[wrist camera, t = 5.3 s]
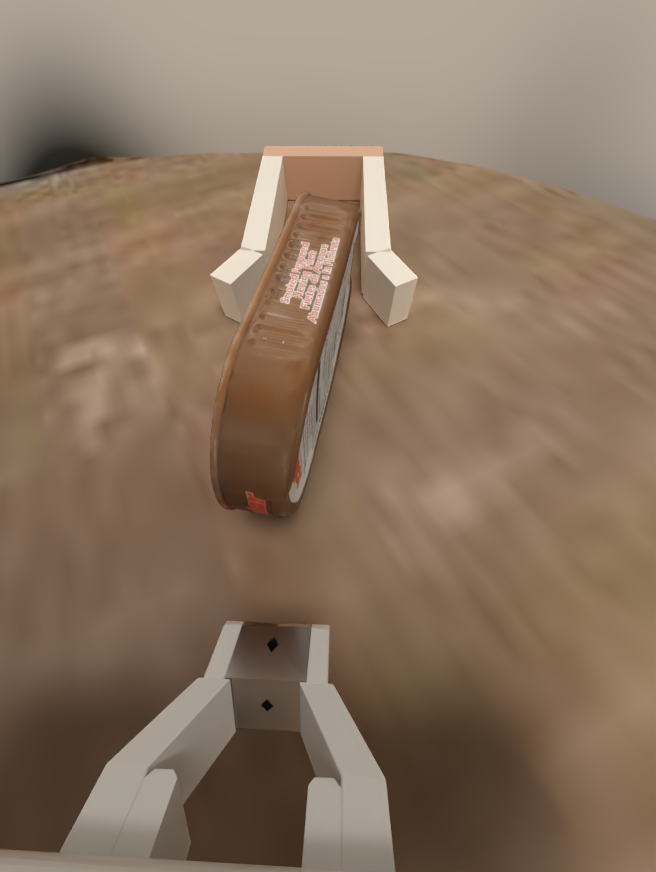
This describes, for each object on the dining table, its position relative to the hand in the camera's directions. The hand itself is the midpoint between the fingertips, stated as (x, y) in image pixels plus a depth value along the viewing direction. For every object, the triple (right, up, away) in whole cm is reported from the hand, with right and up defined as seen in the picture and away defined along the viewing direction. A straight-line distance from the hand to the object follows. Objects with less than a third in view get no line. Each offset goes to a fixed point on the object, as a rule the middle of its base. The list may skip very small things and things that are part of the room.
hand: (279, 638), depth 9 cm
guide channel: (+1, +21, +15) cm, 25 cm away
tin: (0, +8, +9) cm, 12 cm away
